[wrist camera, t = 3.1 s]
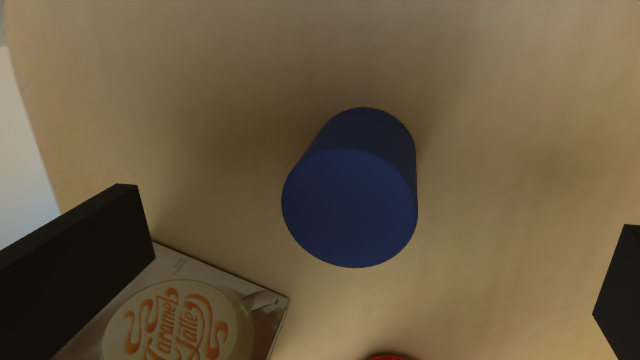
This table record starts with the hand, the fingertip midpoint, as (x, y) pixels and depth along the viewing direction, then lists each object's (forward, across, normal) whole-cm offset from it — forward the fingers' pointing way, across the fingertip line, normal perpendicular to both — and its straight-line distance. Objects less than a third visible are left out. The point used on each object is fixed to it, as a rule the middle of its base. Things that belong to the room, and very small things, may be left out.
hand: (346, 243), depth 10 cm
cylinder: (+7, 0, 0) cm, 7 cm away
